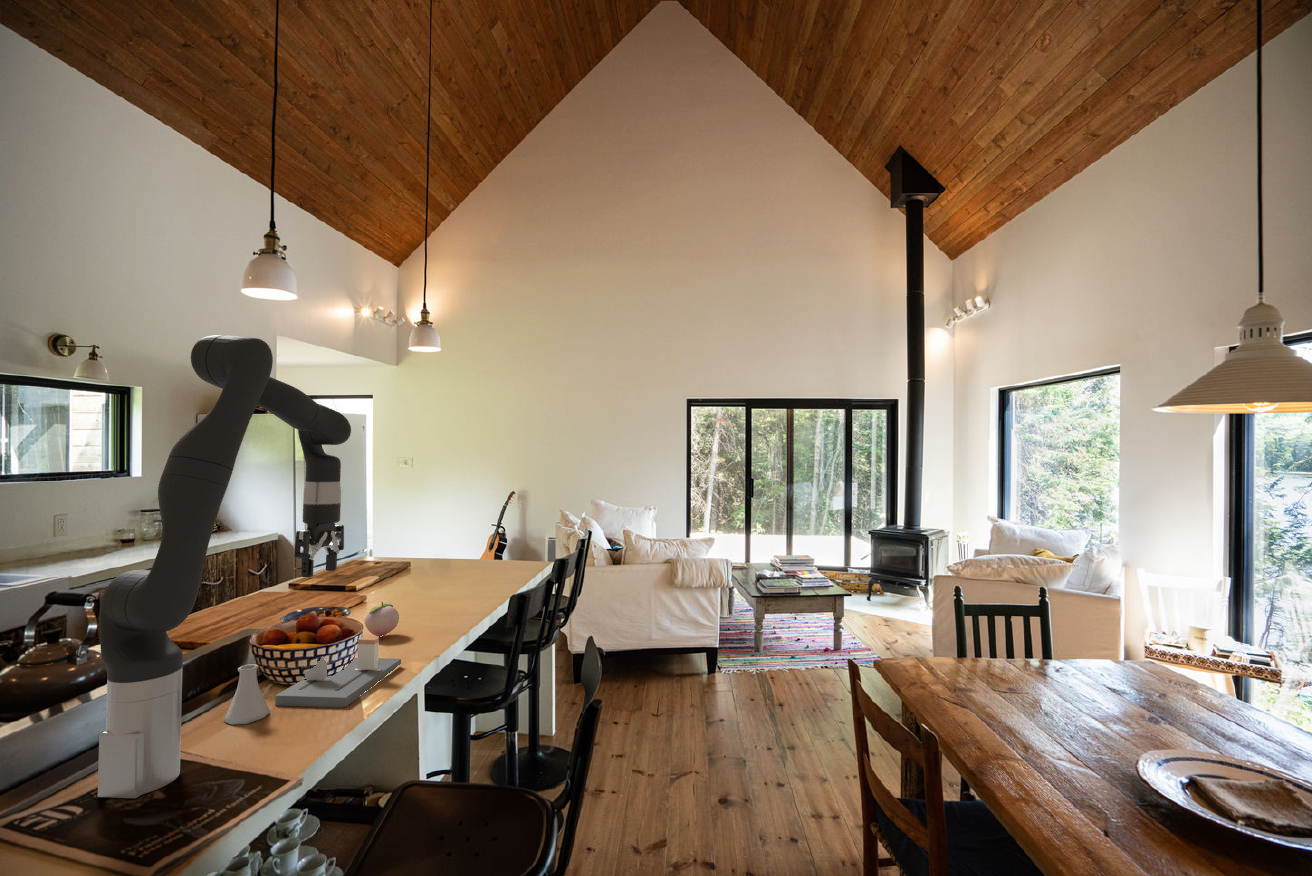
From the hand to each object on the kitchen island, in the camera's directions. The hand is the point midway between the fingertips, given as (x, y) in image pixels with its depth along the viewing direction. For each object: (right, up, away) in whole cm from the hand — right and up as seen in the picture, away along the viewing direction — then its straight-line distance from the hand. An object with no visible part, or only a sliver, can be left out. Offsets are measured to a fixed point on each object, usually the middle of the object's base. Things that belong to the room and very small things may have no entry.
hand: (319, 573), depth 139 cm
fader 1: (+1, -22, -3) cm, 23 cm away
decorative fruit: (-1, -26, +35) cm, 44 cm away
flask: (-5, -25, -18) cm, 31 cm away
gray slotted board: (+6, -25, 0) cm, 25 cm away
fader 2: (+9, -23, +3) cm, 25 cm away
